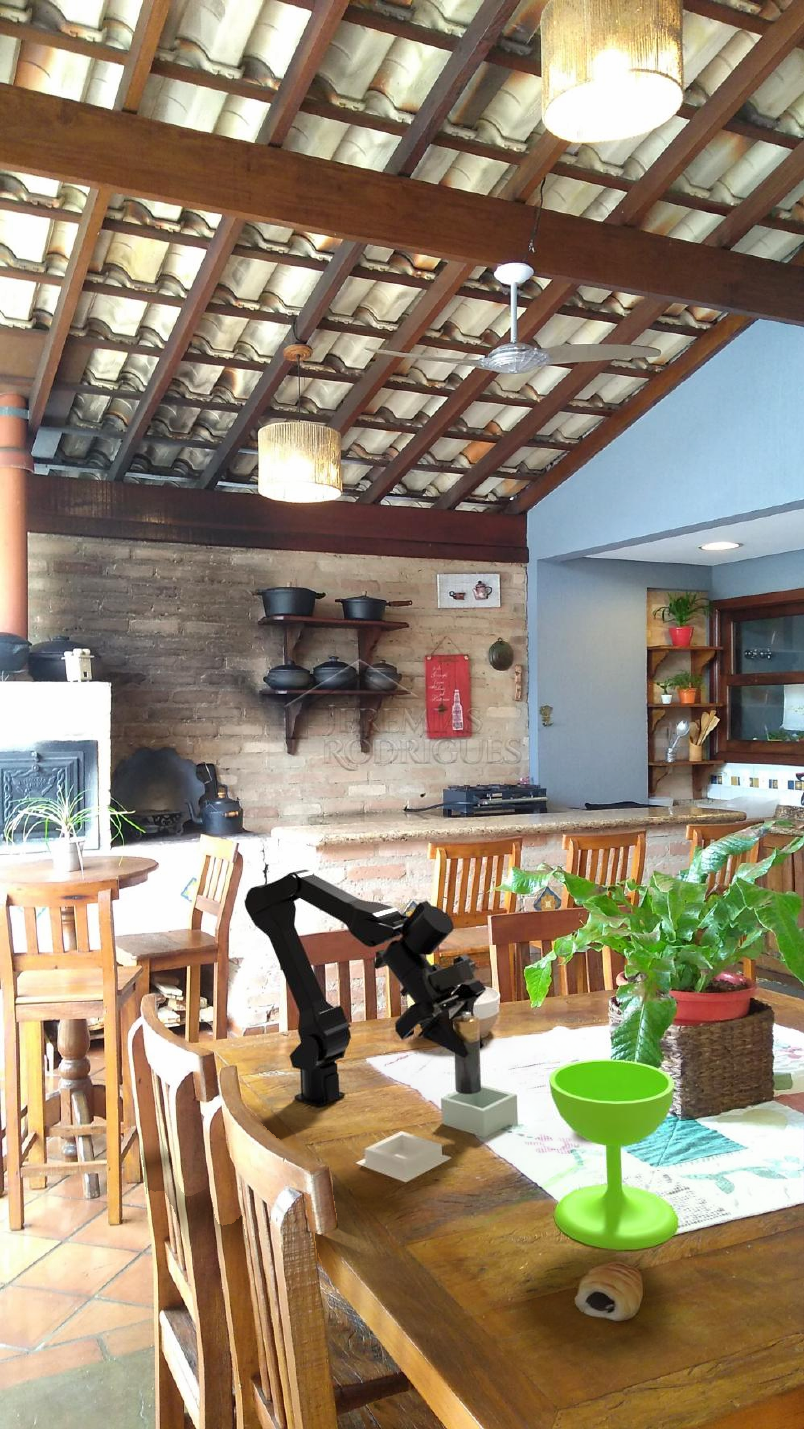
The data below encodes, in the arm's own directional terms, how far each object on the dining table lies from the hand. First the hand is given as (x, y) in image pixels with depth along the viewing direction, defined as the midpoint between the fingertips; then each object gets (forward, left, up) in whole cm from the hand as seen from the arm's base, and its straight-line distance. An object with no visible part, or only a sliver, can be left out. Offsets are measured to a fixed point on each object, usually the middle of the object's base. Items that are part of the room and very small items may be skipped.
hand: (474, 1052), depth 162 cm
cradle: (-2, -15, -13) cm, 20 cm away
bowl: (-35, +39, -14) cm, 55 cm away
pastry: (+39, -25, -14) cm, 49 cm away
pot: (-2, +3, -13) cm, 14 cm away
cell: (-1, 0, -6) cm, 6 cm away
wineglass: (+30, -9, -14) cm, 34 cm away
